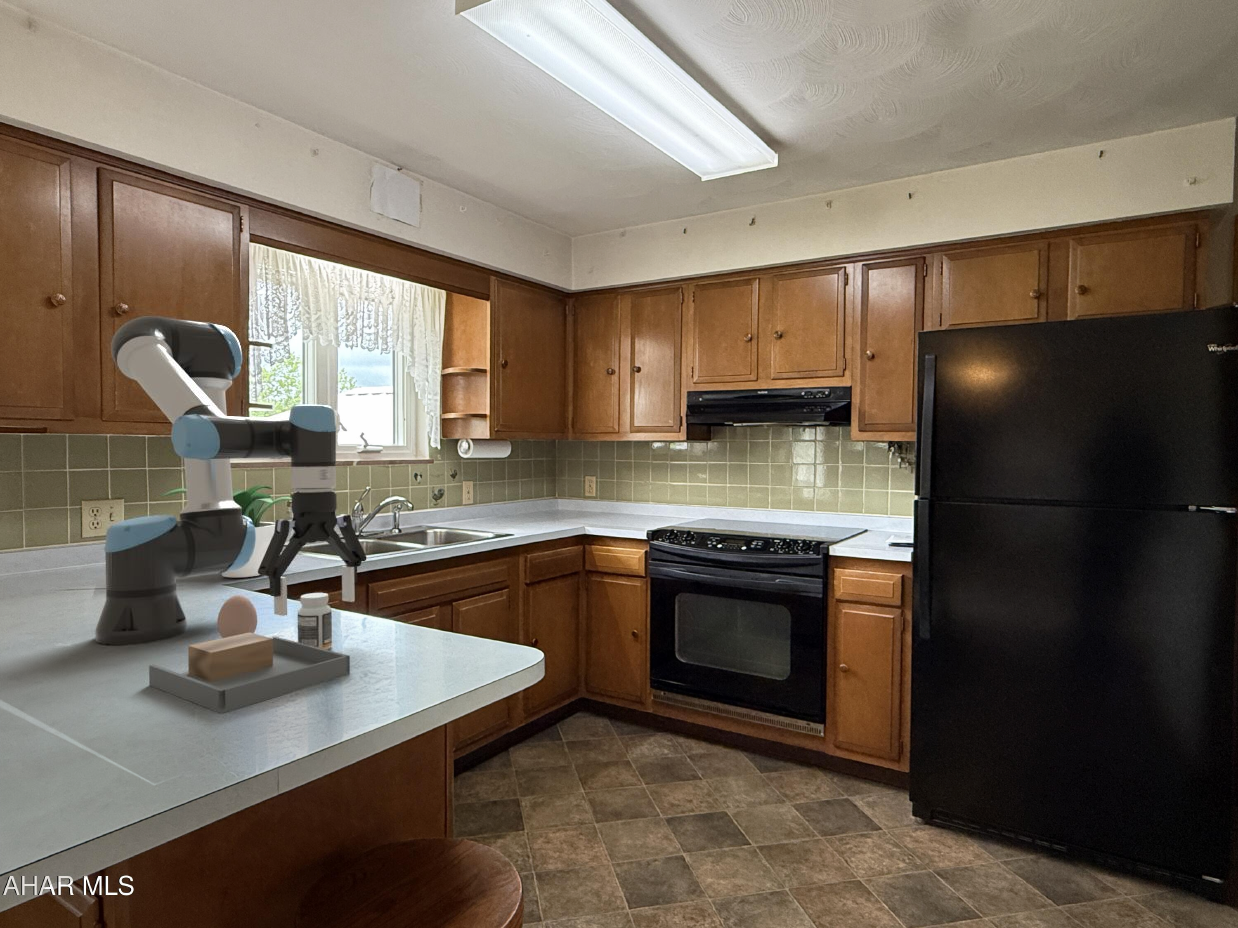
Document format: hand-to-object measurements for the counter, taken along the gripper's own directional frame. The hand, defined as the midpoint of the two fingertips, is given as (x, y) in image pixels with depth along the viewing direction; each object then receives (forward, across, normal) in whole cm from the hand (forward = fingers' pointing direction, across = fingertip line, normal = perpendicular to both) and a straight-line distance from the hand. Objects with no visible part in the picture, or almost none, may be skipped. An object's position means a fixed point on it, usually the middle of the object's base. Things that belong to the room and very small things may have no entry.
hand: (316, 607), depth 132 cm
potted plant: (+6, +32, +88) cm, 93 cm away
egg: (+8, -6, +16) cm, 18 cm away
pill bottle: (+8, 0, +1) cm, 8 cm away
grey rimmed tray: (+8, -16, -7) cm, 19 cm away
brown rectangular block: (+8, -16, -1) cm, 18 cm away
